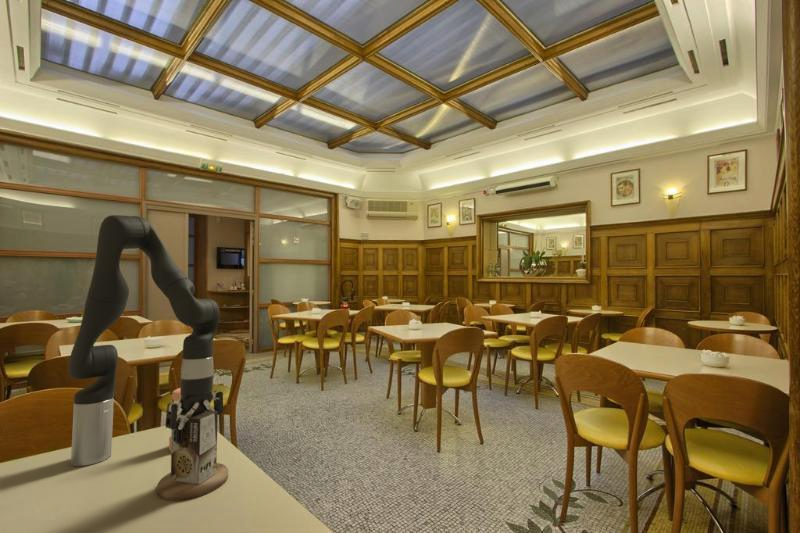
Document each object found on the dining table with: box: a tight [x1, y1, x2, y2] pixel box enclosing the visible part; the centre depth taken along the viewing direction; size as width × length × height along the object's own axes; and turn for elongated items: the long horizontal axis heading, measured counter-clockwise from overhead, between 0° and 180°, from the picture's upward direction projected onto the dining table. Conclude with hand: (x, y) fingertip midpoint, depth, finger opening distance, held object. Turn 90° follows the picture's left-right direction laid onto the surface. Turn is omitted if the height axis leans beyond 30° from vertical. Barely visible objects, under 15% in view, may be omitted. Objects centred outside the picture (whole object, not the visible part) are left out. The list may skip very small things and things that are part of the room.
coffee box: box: [170, 411, 219, 484], centre depth 96 cm, size 9×6×16 cm
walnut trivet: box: [156, 462, 229, 501], centre depth 95 cm, size 16×16×2 cm
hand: (195, 437), depth 96 cm, fingers open, 8 cm apart
